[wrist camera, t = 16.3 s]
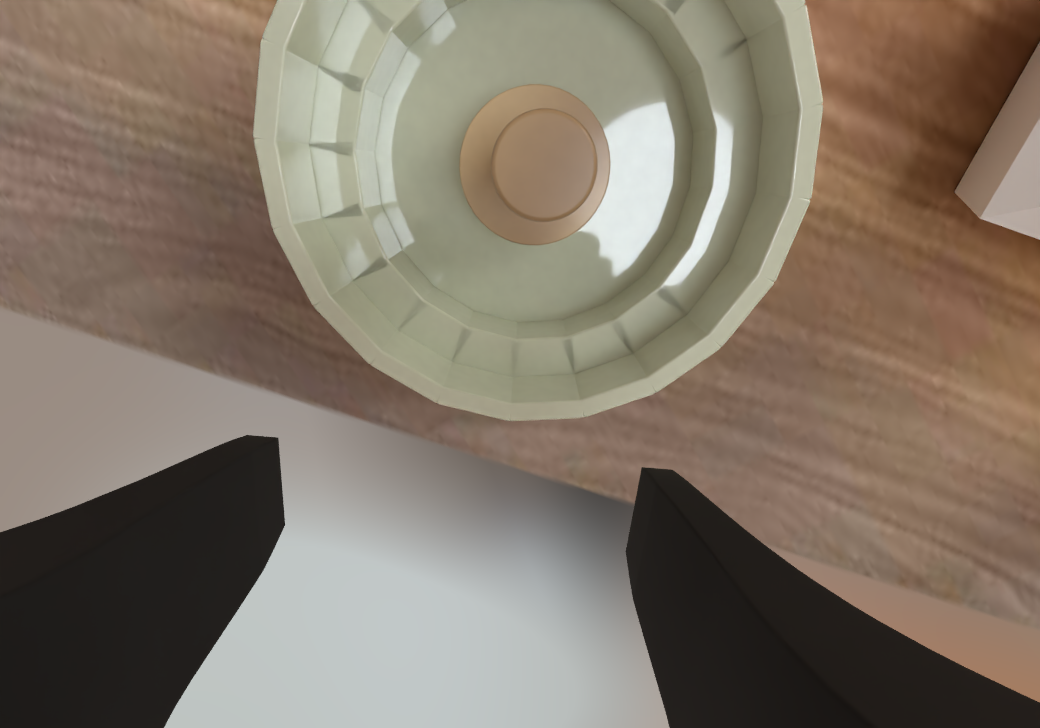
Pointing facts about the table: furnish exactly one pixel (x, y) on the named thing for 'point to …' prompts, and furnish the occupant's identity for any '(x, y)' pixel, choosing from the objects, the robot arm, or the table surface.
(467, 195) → the stirrer
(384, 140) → the bowl
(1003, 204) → the low-poly chess knight
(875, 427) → the table surface
